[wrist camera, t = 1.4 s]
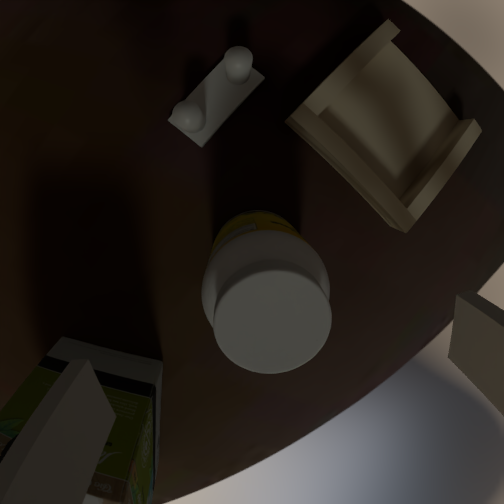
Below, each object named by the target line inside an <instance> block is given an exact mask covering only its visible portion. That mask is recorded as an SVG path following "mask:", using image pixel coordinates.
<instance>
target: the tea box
mask: <svg viewBox="0 0 504 504" xmlns="http://www.w3.org/2000/svg"><path fill="white" fill-rule="evenodd" d="M78 359H89V361H90V363H91V366H92V368H93V370H94V372H95V375H96V377H97V379H98V381H99V383H100V385H101V387H102V389H103V391H104V393H105V395H106V397H107V399H108V401H109V403H110V405H111V407H112V409H113V411H114V413H115V415H116V416H117V417H116V419H115V421H114V424H113V426H112V429H111V431H110V434H109V436H108V438H107V441H106V443H105V446H104V448H103V451H102V453H101V456H100V459H99V461H98V464H97V466H96V469H95V471H94V474H93V477H92V479H91V482H90V485H89V487H88V490H87V493H86V496H85V498H84V501H83V504H151V502H152V496H153V490H154V484H155V479H156V473H157V468H158V461H159V436H160V410H161V388H162V369H163V362H162V361H160V360H155V359H151V358H146V357H142V356H138V355H133V354H129V353H125V352H121V351H117V350H113V349H109V348H105V347H101V346H97V345H93V344H90V343H86V342H83V341H79V340H75V339H71V338H67V337H61V338H60V340H59V341H58V342H57V343H56V344H55V345H54V346H53V347H52V349H51V350H50V351H49V352H48V353H47V355H46V356H45V357H44V358H43V359H42V360H41V361H40V363H39V364H38V365H37V366H36V367H35V369H34V370H33V371H32V372H31V373H30V375H29V376H28V377H27V378H26V380H25V381H24V382H23V383H22V385H21V386H20V387H19V388H18V390H17V391H16V392H15V393H14V394H13V396H12V397H11V399H10V400H9V401H8V402H7V404H6V405H5V406H4V407H3V409H2V410H1V412H0V456H1V452H2V451H3V449H4V448H5V446H6V444H7V443H8V442H9V441H10V440H11V439H12V438H14V437H15V436H16V435H17V434H18V433H20V432H21V430H22V429H23V427H24V426H25V424H26V423H27V421H28V420H29V418H30V417H31V415H32V414H33V413H34V411H35V410H36V408H37V407H38V405H39V404H40V402H41V401H42V400H43V398H44V397H45V395H46V394H47V393H48V391H49V390H50V388H51V387H52V386H53V384H54V383H55V382H56V380H57V379H58V377H59V376H60V375H61V373H62V372H63V371H64V369H65V368H66V367H67V365H68V364H69V363H70V361H71V360H78Z"/></svg>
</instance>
